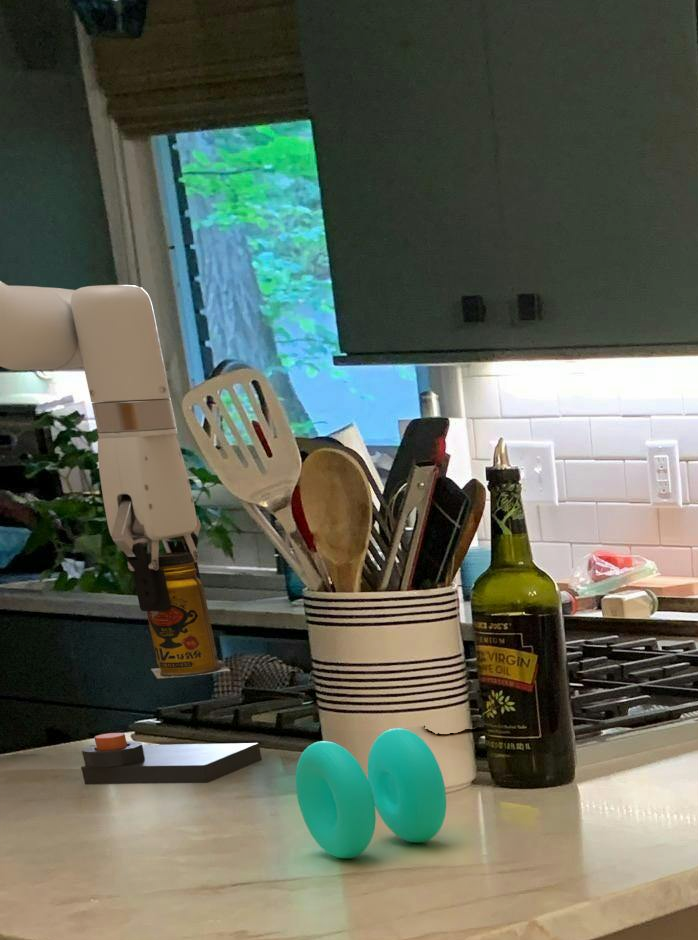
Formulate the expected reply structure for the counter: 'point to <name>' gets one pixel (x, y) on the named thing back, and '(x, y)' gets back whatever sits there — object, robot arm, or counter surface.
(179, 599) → the condiment
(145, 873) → the counter surface
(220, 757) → the scale
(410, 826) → the donuts
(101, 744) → the button
